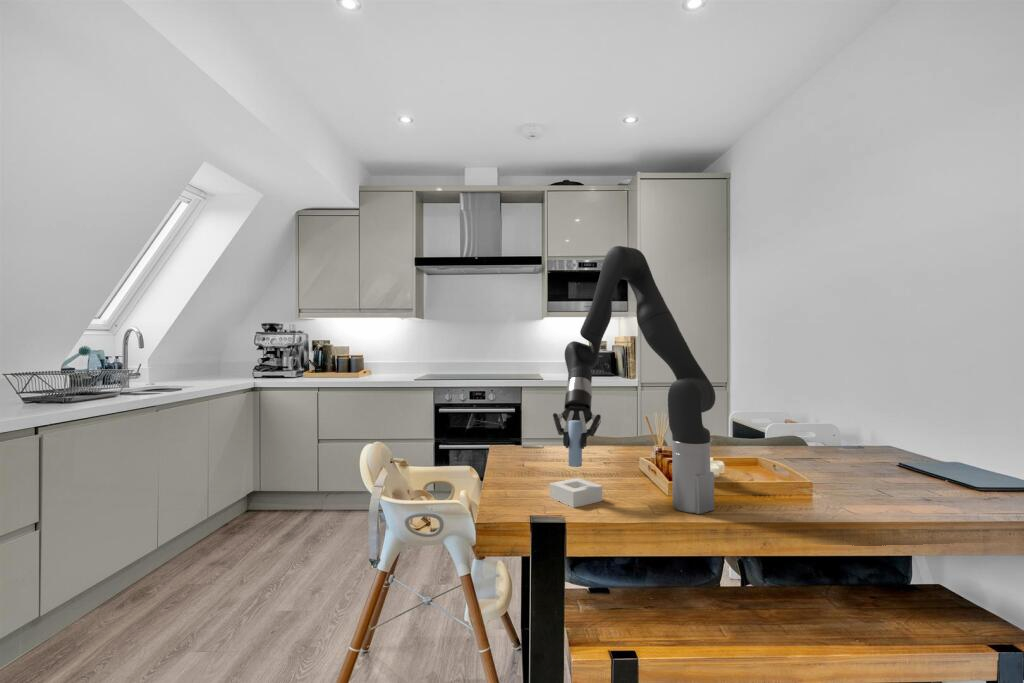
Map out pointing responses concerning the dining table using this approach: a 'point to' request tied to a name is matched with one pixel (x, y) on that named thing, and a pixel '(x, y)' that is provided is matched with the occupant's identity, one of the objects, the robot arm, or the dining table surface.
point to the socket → (576, 492)
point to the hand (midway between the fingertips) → (574, 446)
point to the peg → (575, 443)
